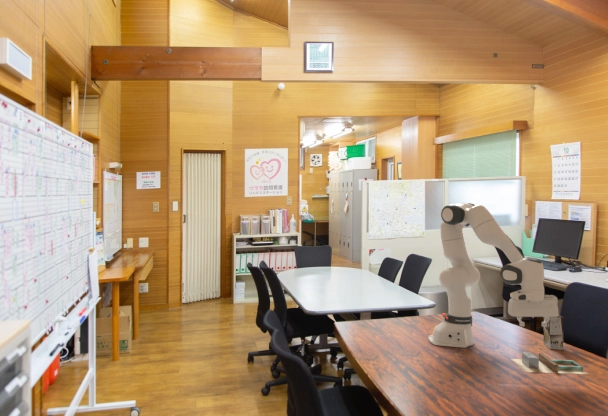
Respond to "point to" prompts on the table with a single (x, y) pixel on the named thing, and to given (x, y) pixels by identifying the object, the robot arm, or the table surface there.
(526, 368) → the lock board
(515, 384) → the table surface
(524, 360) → the block
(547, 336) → the coffee box
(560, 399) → the table surface
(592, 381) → the table surface
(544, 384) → the table surface
